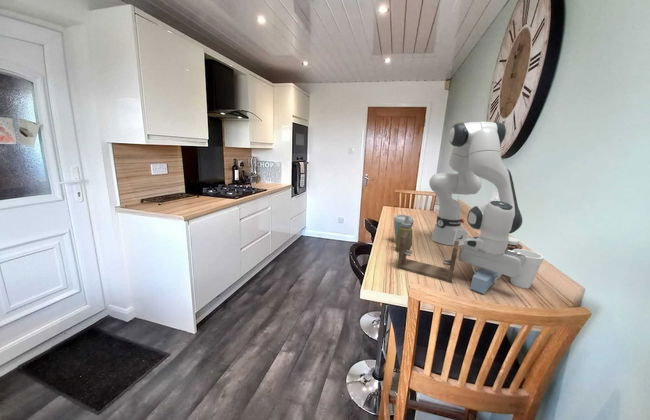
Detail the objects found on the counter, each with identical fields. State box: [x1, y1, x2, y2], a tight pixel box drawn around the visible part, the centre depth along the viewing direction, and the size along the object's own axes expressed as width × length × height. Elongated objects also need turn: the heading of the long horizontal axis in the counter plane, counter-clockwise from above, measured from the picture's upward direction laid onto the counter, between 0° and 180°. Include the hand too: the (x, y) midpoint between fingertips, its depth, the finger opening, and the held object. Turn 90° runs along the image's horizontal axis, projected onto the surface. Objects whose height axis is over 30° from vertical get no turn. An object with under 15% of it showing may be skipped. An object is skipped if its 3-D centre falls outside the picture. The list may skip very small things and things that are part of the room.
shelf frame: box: [396, 231, 459, 284], centre depth 105 cm, size 21×10×14 cm, turn 60°
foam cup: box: [509, 248, 544, 289], centre depth 98 cm, size 10×9×13 cm
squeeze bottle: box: [395, 215, 414, 252], centre depth 125 cm, size 8×8×18 cm
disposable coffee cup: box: [393, 214, 415, 242], centre depth 137 cm, size 11×11×15 cm
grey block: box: [470, 268, 498, 294], centre depth 96 cm, size 16×4×5 cm, turn 133°
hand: (484, 279), depth 96 cm, fingers closed on grey block, 4 cm apart
